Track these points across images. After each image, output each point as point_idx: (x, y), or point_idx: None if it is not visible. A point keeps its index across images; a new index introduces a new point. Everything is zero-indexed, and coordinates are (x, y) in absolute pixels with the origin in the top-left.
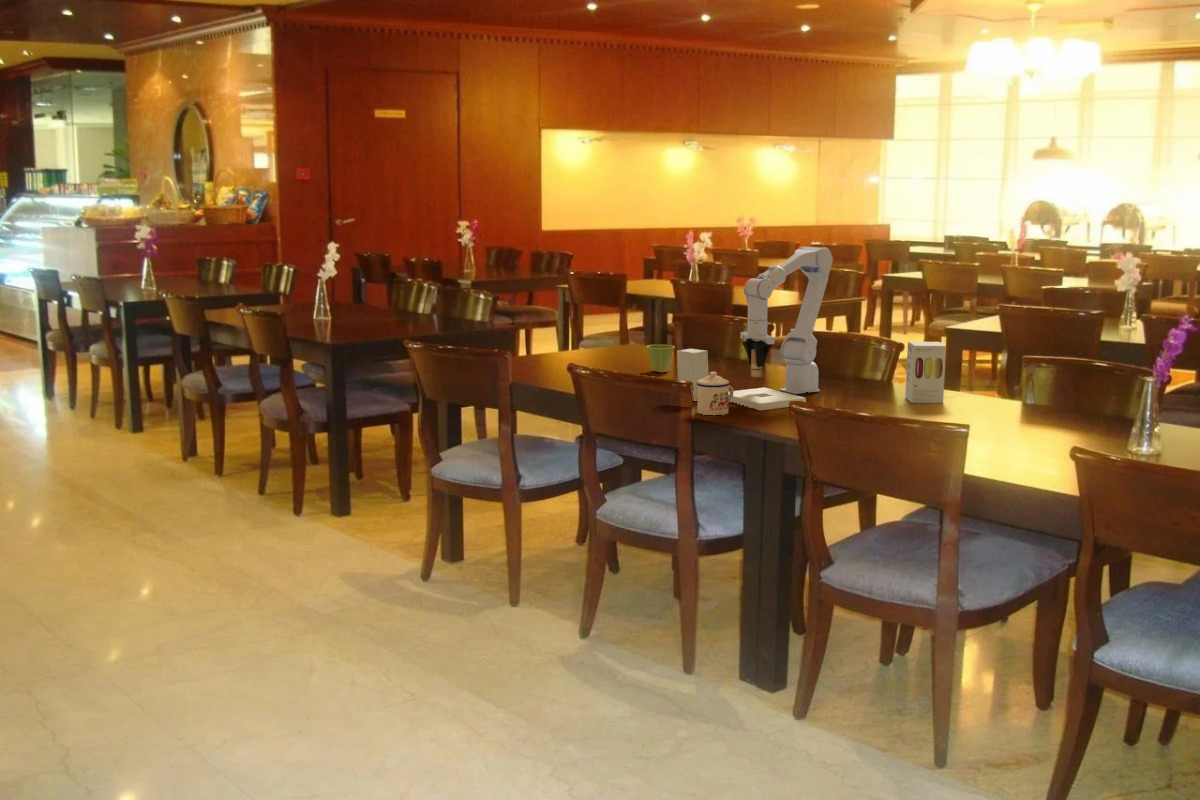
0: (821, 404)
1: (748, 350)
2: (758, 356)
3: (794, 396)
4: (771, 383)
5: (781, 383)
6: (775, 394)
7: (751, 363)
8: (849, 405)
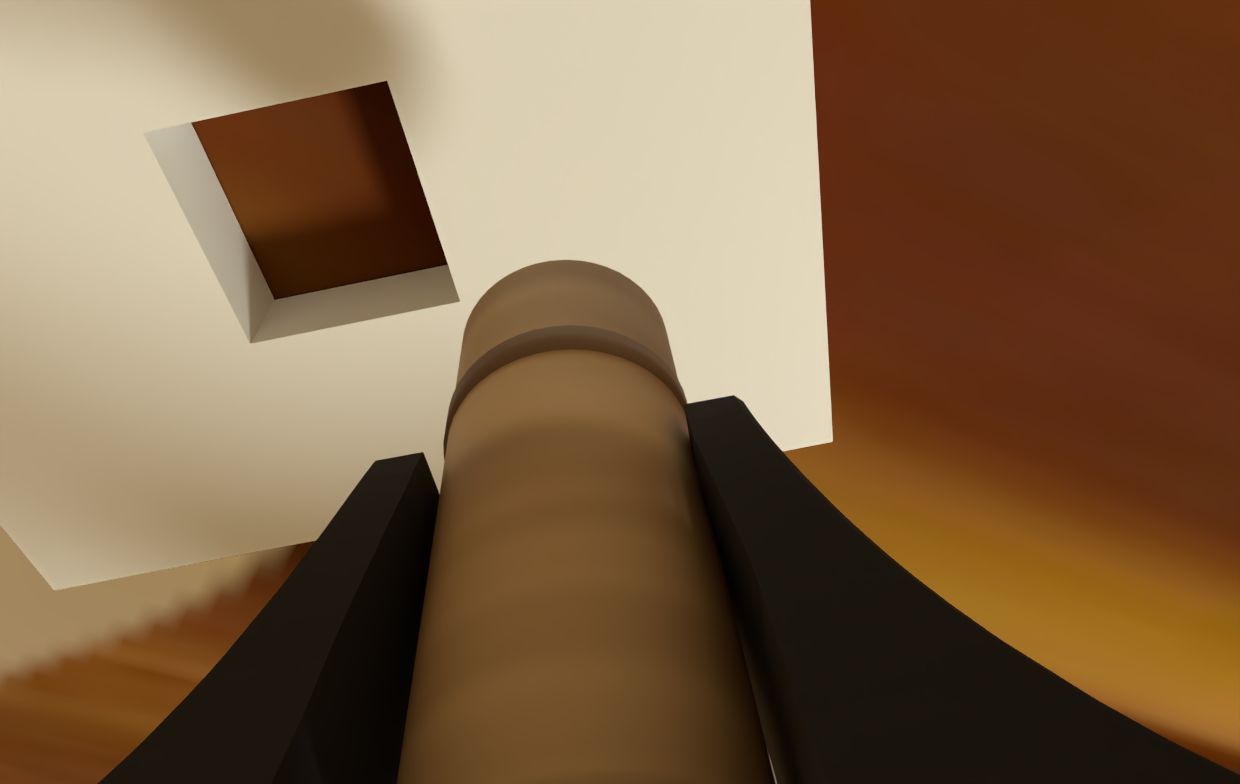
0: (100, 644)
1: (787, 672)
2: (214, 670)
3: (154, 525)
4: (1228, 618)
5: (1165, 675)
6: (332, 392)
7: (590, 419)
8: (38, 780)
